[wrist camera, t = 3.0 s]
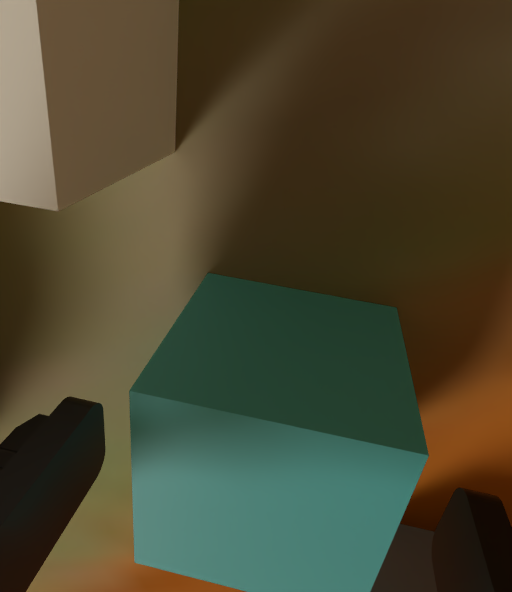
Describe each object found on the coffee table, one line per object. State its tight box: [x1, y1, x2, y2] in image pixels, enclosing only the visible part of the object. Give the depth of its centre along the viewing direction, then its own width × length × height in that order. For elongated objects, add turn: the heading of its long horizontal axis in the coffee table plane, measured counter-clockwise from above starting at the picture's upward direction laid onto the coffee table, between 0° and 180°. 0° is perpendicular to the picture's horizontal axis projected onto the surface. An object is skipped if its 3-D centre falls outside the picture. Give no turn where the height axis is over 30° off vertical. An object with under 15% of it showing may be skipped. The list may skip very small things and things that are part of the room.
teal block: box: [129, 273, 429, 592], centre depth 11 cm, size 5×5×5 cm
